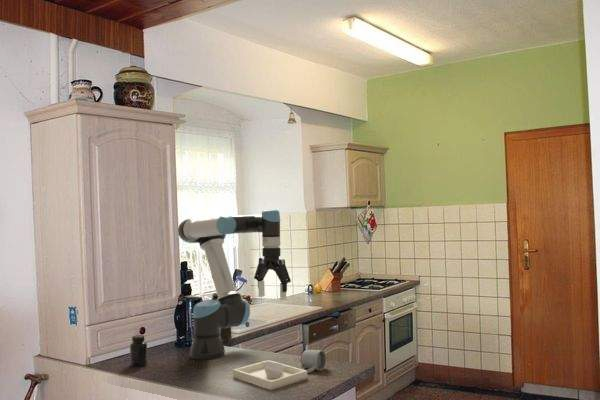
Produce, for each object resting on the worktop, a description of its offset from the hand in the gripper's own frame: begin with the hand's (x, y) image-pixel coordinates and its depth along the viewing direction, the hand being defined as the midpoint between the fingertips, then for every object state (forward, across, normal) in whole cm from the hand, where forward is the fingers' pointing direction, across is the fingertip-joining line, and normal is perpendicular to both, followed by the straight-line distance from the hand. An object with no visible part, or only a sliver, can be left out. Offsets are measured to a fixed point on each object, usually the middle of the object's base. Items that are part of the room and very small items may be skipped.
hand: (272, 298), depth 233 cm
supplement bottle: (+27, -39, -40) cm, 62 cm away
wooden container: (+27, -55, +11) cm, 62 cm away
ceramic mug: (+27, +19, +4) cm, 33 cm away
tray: (+27, +15, -15) cm, 34 cm away
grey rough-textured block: (+26, +15, -14) cm, 33 cm away
